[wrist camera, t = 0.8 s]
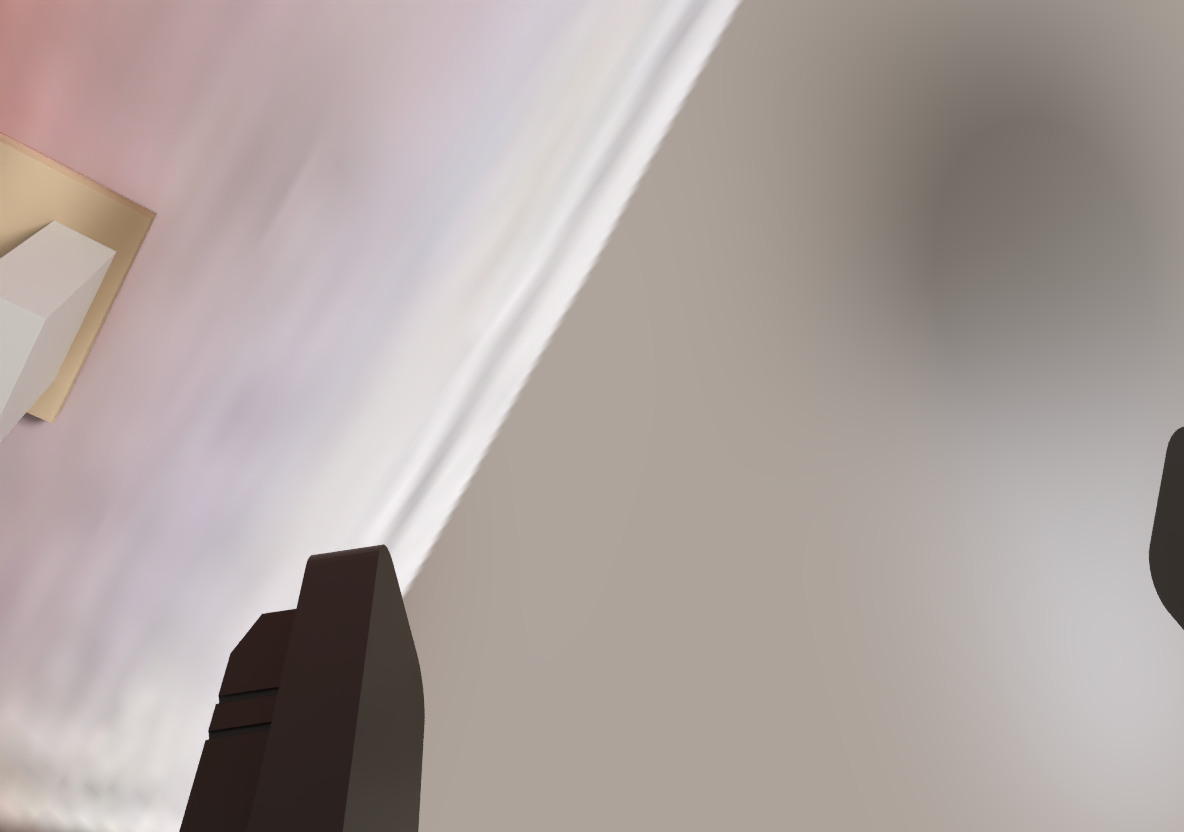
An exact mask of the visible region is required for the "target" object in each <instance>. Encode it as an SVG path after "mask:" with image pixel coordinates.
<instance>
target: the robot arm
mask: <svg viewBox="0 0 1184 832" xmlns="http://www.w3.org/2000/svg"><path fill="white" fill-rule="evenodd" d="M1149 563H1150V571H1151V576H1152V580H1153V583H1154V586H1155V588H1156V591H1157V594H1158V596H1159V598H1160V600H1161V602H1162V603H1163V605H1164V606H1165V608H1166V609H1167V610H1168V612H1169V613H1170V614H1171V615H1172V617H1173V618H1174V619H1175V620H1176V621H1177V622H1178V624H1179V625H1180V626H1181V627H1182V628H1183V630H1184V427H1182V428H1180V429H1178V430H1177V431H1176V432H1175V433H1174V434H1173V435H1172V437H1171V439H1170V441H1169V443H1168V447H1167V452H1166V457H1165V463H1164V469H1163V475H1162V480H1161V486H1160V491H1159V497H1158V502H1157V508H1156V514H1155V519H1154V525H1153V531H1152V536H1151V542H1150V549H1149ZM424 718H425V717H424V695H423V685H422V677H421V671H420V665H419V661H418V657H417V652H416V649H415V645H414V641H413V637H412V633H411V630H410V626H409V622H408V618H407V614H406V611H405V607H404V603H403V599H402V595H401V592H400V588H399V584H398V580H397V577H396V573H395V569H394V565H393V562H392V558H391V555H390V553H389V551H388V549H387V547H386V546H385V545H378V546H371V547H364V548H358V549H351V550H344V551H338V552H331V553H324V554H318V555H311V556H310V557H309V559H308V561H307V564H306V568H305V573H304V577H303V582H302V586H301V591H300V595H299V600H298V604H297V609H292V610H285V611H279V612H272V613H266V614H262V615H261V616H260V617H259V619H258V620H257V621H256V622H255V624H254V625H253V626H252V627H251V629H250V630H249V631H248V632H247V634H246V635H245V636H244V637H243V639H242V640H241V641H240V642H239V644H238V645H237V646H236V647H235V649H234V650H233V651H232V652H231V654H230V657H229V661H228V664H227V668H226V671H225V675H224V678H223V682H222V685H221V689H220V692H219V704H216V706H215V710H214V713H213V716H212V720H211V723H210V727H209V730H208V732H209V740H206V741H205V744H204V748H203V751H202V755H201V758H200V762H199V765H198V769H197V772H196V776H195V779H194V783H193V786H192V789H191V793H190V796H189V800H188V803H187V807H186V810H185V814H184V817H183V821H182V824H181V828H180V831H179V832H418V825H419V808H420V791H421V774H422V773H421V772H422V755H423V738H424Z"/></svg>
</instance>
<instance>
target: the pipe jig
mask: <svg viewBox="0 0 1184 832" xmlns="http://www.w3.org/2000/svg"><path fill="white" fill-rule="evenodd" d="M115 254H116V251H114V250H112V249H110V248H108V247H106V246H104V245H102V244H100V243H98V242H96V241H94V240H92V239H90V238H88V237H86V236H84V235H82V234H80V233H78V232H76V231H74V230H72V229H70V228H68V227H66V226H64V225H62V224H60V223H58V222H56V221H53V222H51V223H50V224H48V225H47V226H46V227H44V228H43V229H41V230H40V231H39V232H37V233H36V234H34V235H33V236H31V237H30V238H29V239H27V240H26V241H24V242H23V243H22V244H20V245H19V246H17V247H16V248H15V249H13V250H12V251H10V252H9V253H7V254H6V255H5V256H3V257H2V258H0V442H1V441H2V440H3V439H4V437H5V436H6V435H7V434H8V433H9V432H10V431H11V429H12V428H13V427H14V426H15V425H16V424H17V423H18V421H19V420H20V419H21V418H22V417H23V416H24V415H25V413H26V412H27V411H28V410H29V409H30V408H31V407H32V405H33V404H34V403H35V402H36V401H37V400H38V398H39V397H40V396H41V395H42V394H43V393H44V392H45V390H46V389H47V388H48V387H49V386H50V385H51V384H52V382H53V381H54V380H55V378H56V376H57V374H58V372H59V370H60V368H61V366H62V364H63V361H64V359H65V357H66V355H67V353H68V351H69V349H70V347H71V345H72V343H73V341H74V339H75V337H76V334H77V332H78V330H79V328H80V326H81V324H82V322H83V320H84V318H85V316H86V314H87V312H88V310H89V307H90V305H91V303H92V301H93V299H94V297H95V295H96V293H97V291H98V289H99V287H100V285H101V283H102V281H103V278H104V276H105V274H106V272H107V270H108V268H109V266H110V264H111V262H112V260H113V258H114V256H115Z"/></svg>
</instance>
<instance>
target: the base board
mask: <svg viewBox="0 0 1184 832" xmlns="http://www.w3.org/2000/svg"><path fill="white" fill-rule="evenodd" d="M155 216H156V213H154V212H152V211H150V210H148V209H147V208H145V207H143V206H141V205H139V204H137V203H135V202H133V201H131V200H129V199H127V198H125V197H123V196H121V195H119V194H117V193H116V192H114V191H112V190H110V189H108V188H106V187H104V186H102V185H100V184H98V183H96V182H94V181H92V180H90V179H88V178H86V177H84V176H83V175H81V174H79V173H77V172H75V171H73V170H71V169H69V168H67V167H65V166H63V165H61V164H59V163H57V162H55V161H53V160H52V159H50V158H48V157H46V156H44V155H42V154H40V153H38V152H36V151H34V150H32V149H30V148H28V147H26V146H24V145H22V144H21V143H19V142H17V141H15V140H13V139H11V138H9V137H7V136H5V135H3V134H1V133H0V258H2V257H3V256H5V255H6V254H7V253H9V252H10V251H12V250H13V249H15V248H16V247H17V246H19V245H20V244H22V243H23V242H24V241H26V240H27V239H29V238H30V237H31V236H33V235H34V234H36V233H37V232H39V231H40V230H41V229H43V228H44V227H46V226H47V225H48V224H50V223H51V222H53V221H56V222H58V223H60V224H62V225H64V226H66V227H68V228H70V229H72V230H74V231H76V232H78V233H80V234H82V235H84V236H86V237H88V238H90V239H92V240H94V241H96V242H98V243H100V244H102V245H104V246H106V247H108V248H110V249H112V250H114V251H116V254H115V256H114V258H113V260H112V262H111V264H110V266H109V268H108V270H107V272H106V274H105V276H104V278H103V281H102V283H101V285H100V287H99V289H98V291H97V293H96V295H95V297H94V299H93V301H92V303H91V305H90V307H89V310H88V312H87V314H86V316H85V318H84V320H83V322H82V324H81V326H80V328H79V330H78V332H77V334H76V337H75V339H74V341H73V343H72V345H71V347H70V349H69V351H68V353H67V355H66V357H65V359H64V361H63V364H62V366H61V368H60V370H59V372H58V374H57V376H56V378H55V380H54V381H53V382H52V384H51V385H50V386H49V387H48V388H47V389H46V390H45V392H44V393H43V394H42V395H41V396H40V397H39V398H38V400H37V401H36V402H35V403H34V404H33V405H32V407H31V408H30V409H29V410H28V411H27V413H29V414H31V415H34V416H36V417H38V418H41V419H43V420H45V421H47V422H50V423H52V422H53V421H54V420H55V419H56V417H57V416H58V415H59V413H60V411H61V409H62V407H63V405H64V403H65V401H66V399H67V397H68V395H69V393H70V391H71V388H72V386H73V384H74V382H75V380H76V378H77V376H78V374H79V372H80V370H81V368H82V366H83V364H84V362H85V360H86V358H87V356H88V354H89V352H90V350H91V347H92V345H93V343H94V341H95V339H96V337H97V335H98V333H99V331H100V329H101V327H102V325H103V323H104V321H105V319H106V317H107V315H108V313H109V311H110V309H111V306H112V304H113V302H114V300H115V298H116V296H117V294H118V292H119V290H120V288H121V286H122V284H123V282H124V280H125V278H126V276H127V274H128V272H129V270H130V268H131V265H132V263H133V261H134V259H135V257H136V255H137V253H138V251H139V249H140V247H141V245H142V243H143V241H144V239H145V237H146V235H147V233H148V231H149V229H150V227H151V225H152V222H153V220H154V218H155Z"/></svg>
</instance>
